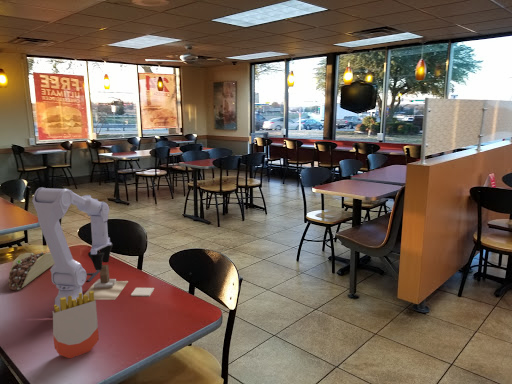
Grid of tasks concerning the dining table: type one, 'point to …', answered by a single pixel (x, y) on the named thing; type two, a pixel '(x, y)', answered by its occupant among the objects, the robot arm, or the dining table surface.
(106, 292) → the board
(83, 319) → the french fries container
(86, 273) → the bracket
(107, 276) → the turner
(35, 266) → the taco
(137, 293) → the tile
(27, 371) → the dining table surface
